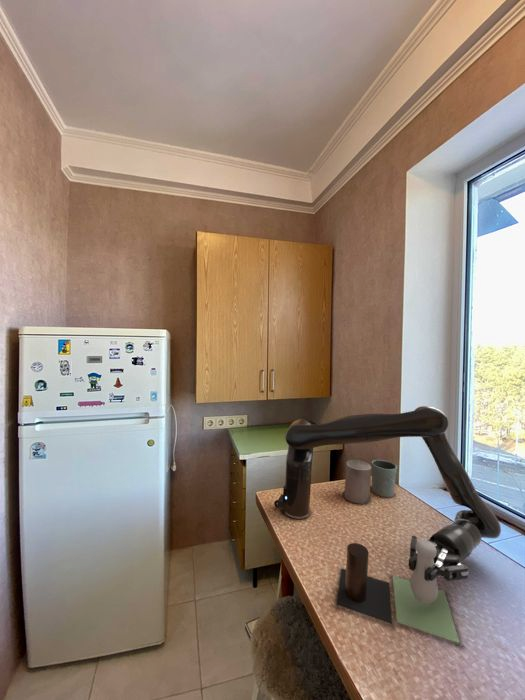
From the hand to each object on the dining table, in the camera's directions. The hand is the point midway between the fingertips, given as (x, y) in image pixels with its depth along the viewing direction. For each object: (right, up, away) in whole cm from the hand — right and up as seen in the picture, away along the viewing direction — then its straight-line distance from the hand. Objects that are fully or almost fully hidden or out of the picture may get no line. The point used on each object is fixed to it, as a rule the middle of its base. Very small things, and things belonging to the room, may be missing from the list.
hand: (418, 571), depth 68 cm
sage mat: (+2, -10, +2) cm, 10 cm away
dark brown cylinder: (-13, -9, +4) cm, 16 cm away
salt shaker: (+2, -8, +2) cm, 8 cm away
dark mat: (-11, -10, +5) cm, 15 cm away
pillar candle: (+2, -9, +51) cm, 52 cm away
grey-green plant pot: (+15, -9, +57) cm, 59 cm away
